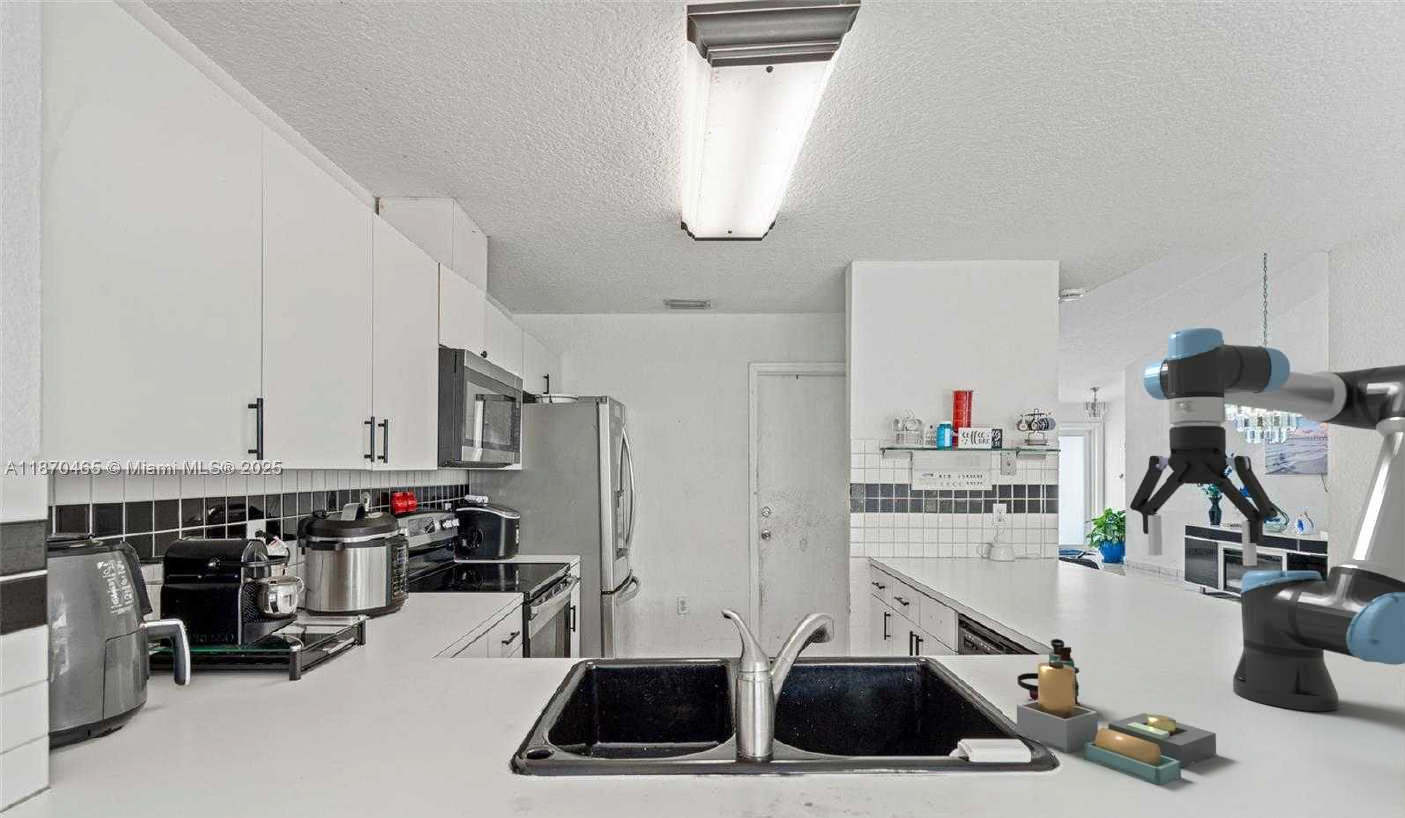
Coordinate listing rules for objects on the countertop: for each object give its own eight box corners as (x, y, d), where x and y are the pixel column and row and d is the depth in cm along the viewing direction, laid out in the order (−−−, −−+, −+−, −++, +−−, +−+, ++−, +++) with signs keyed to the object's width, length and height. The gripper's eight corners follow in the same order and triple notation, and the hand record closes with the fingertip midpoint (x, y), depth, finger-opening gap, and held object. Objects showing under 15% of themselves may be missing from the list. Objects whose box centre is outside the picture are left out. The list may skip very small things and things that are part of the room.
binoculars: (1009, 638, 136) (1068, 637, 134) (1016, 698, 135) (1075, 697, 133) (1020, 650, 127) (1083, 648, 125) (1027, 714, 126) (1091, 713, 124)
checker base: (1144, 732, 116) (1144, 708, 116) (1216, 754, 108) (1215, 728, 108) (1108, 744, 111) (1108, 719, 111) (1181, 768, 102) (1180, 740, 103)
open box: (1048, 726, 118) (1048, 697, 118) (1098, 743, 111) (1097, 712, 111) (1016, 735, 114) (1016, 705, 114) (1066, 753, 107) (1066, 720, 107)
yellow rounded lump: (1154, 730, 112) (1154, 712, 112) (1180, 737, 109) (1180, 720, 109) (1142, 734, 110) (1141, 716, 110) (1168, 742, 107) (1167, 724, 107)
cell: (1050, 728, 116) (1049, 655, 116) (1082, 738, 112) (1081, 662, 112) (1032, 734, 113) (1031, 659, 114) (1064, 744, 109) (1063, 667, 110)
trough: (1106, 751, 108) (1105, 722, 108) (1180, 776, 99) (1180, 745, 100) (1084, 758, 105) (1084, 728, 105) (1159, 785, 96) (1158, 752, 97)
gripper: (1106, 427, 128) (1108, 552, 127) (1278, 421, 107) (1284, 571, 106) (1130, 429, 132) (1132, 550, 131) (1300, 424, 111) (1306, 568, 110)
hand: (1200, 560), depth 118 cm, fingers open, 13 cm apart
